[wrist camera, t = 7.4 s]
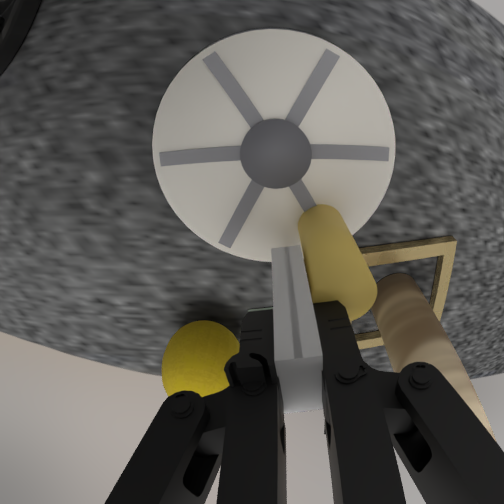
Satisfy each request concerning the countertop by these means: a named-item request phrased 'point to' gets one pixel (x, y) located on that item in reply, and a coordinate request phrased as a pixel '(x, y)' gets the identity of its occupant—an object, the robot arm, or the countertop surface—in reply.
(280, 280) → the robot arm
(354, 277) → the handwheel
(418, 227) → the countertop surface
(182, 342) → the lemon
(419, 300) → the dowel
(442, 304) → the square gold frame
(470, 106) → the countertop surface
